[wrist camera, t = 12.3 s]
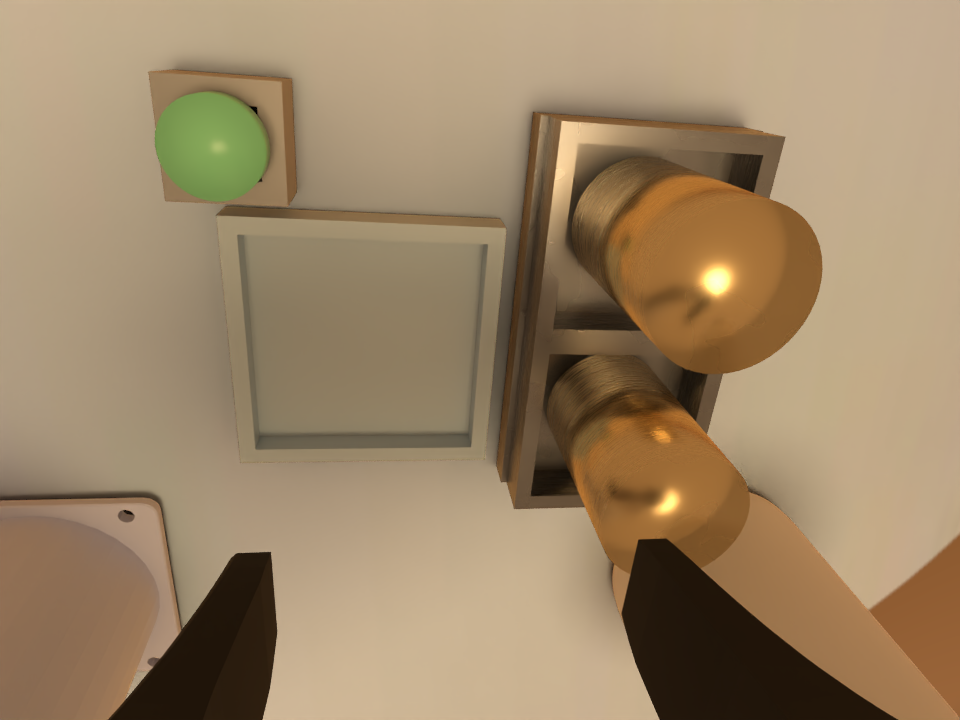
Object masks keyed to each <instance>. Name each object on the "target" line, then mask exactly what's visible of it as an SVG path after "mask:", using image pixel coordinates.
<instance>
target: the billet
mask: <svg viewBox="0 0 960 720" xmlns="http://www.w3.org/2000/svg"><path fill="white" fill-rule="evenodd" d="M572 241H573V246H574V250H575V253H576V255H577V258H578V260H579V262H580V263H581V265H582V266H583V268H584V269H585V270H586V271H587V272H588V274H589V275H590V276H591V277H592V278H593V279H594V280H595V281H596V282H597V283H598V284H599V285H600V286H601V287H602V289H603V290H604V291H605V292H606V293H607V294H608V295H609V296H610V297H611V298H612V299H613V300H614V301H615V302H616V304H617V305H618V306H619V307H620V308H621V309H622V310H623V311H624V312H625V313H626V314H627V315H628V316H629V318H630V319H631V320H632V321H633V322H634V323H635V324H636V325H637V326H638V327H639V328H640V329H641V330H642V331H643V333H644V334H645V335H646V336H647V337H648V338H649V339H650V340H651V341H652V342H653V343H654V344H655V345H656V346H657V348H658V349H659V350H660V351H661V352H662V353H663V354H664V355H665V356H666V357H667V358H668V359H670V360H671V361H672V362H674V363H675V364H677V365H679V366H681V367H683V368H685V369H687V370H691V371H694V372H698V373H704V374H723V373H730V372H735V371H739V370H742V369H745V368H748V367H751V366H753V365H755V364H757V363H759V362H761V361H763V360H765V359H766V358H768V357H770V356H771V355H773V354H774V353H775V352H777V351H778V350H779V349H781V348H782V347H783V346H784V345H785V344H786V343H787V342H788V341H789V340H790V339H791V338H792V337H793V336H794V335H795V334H796V333H797V331H798V330H799V329H800V327H801V326H802V325H803V323H804V322H805V320H806V319H807V317H808V315H809V314H810V312H811V310H812V308H813V305H814V303H815V301H816V298H817V295H818V292H819V288H820V284H821V278H822V256H821V250H820V246H819V243H818V240H817V237H816V235H815V233H814V232H813V230H812V228H811V227H810V225H809V224H808V223H807V221H806V220H805V219H804V218H803V217H802V216H801V215H799V214H798V213H797V212H796V211H794V210H793V209H791V208H790V207H788V206H786V205H783V204H781V203H778V202H776V201H773V200H771V199H768V198H765V197H763V196H760V195H757V194H755V193H752V192H749V191H747V190H744V189H741V188H739V187H736V186H733V185H731V184H728V183H725V182H723V181H720V180H718V179H715V178H712V177H710V176H707V175H704V174H702V173H699V172H696V171H694V170H691V169H688V168H686V167H683V166H680V165H678V164H675V163H672V162H670V161H667V160H664V159H661V158H657V157H649V156H641V157H633V158H628V159H625V160H622V161H620V162H618V163H615V164H613V165H611V166H610V167H608V168H607V169H605V170H604V171H603V172H601V173H600V174H599V175H598V176H597V177H596V178H595V179H594V180H593V181H592V182H591V183H590V184H589V185H588V187H587V188H586V189H585V191H584V192H583V194H582V196H581V198H580V200H579V202H578V204H577V207H576V209H575V213H574V216H573V223H572Z"/></svg>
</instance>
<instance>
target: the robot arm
mask: <svg viewBox="0 0 960 720" xmlns="http://www.w3.org/2000/svg"><path fill="white" fill-rule="evenodd" d="M123 510H129V511H131V512H132V513H133V514H134V515H128V514H126V513H124V512H123ZM621 615H622V618H623V622H624V625H625V629H626V633H627V636H628V640H629V643H630V646H631V650H632V653H633V656H634V659H635V662H636V665H637V668H638V670H639V672H640V675H641V677H642V680H643V682H644V684H645V687H646V689H647V691H648V694H649V696H650V698H651V701H652V703H653V705H654V708H655V710H656V712H657V714H658V717H659V719H660V720H898V719H896V718H895V717H893V716H891V715H890V714H888V713H886V712H885V711H883V710H881V709H880V708H878V707H877V706H875V705H874V704H872V703H871V702H869V701H867V700H866V699H864V698H863V697H861V696H860V695H858V694H857V693H855V692H854V691H852V690H851V689H849V688H848V687H847V686H845V685H844V684H842V683H841V682H839V681H838V680H837V679H835V678H834V677H832V676H831V675H829V674H828V673H827V672H825V671H824V670H822V669H821V668H819V667H818V666H817V665H815V664H814V663H813V662H811V661H810V660H809V659H807V658H806V657H805V656H803V655H802V654H801V653H799V652H798V651H797V650H796V649H794V648H793V647H792V646H791V645H789V644H788V643H787V642H785V641H784V640H783V639H782V638H780V637H779V636H778V635H777V634H775V633H774V632H773V631H772V630H770V629H769V628H768V627H767V626H766V625H764V624H763V623H762V622H761V621H760V620H758V619H757V618H756V617H755V616H754V615H752V614H751V613H750V612H749V611H748V610H747V609H745V608H744V607H743V606H742V605H741V604H740V603H739V602H737V601H736V600H735V599H734V598H733V597H732V596H731V595H729V594H728V593H727V592H726V591H725V590H724V589H723V588H722V587H720V586H719V585H718V584H717V583H716V582H715V581H714V580H713V579H712V578H710V577H709V576H708V575H707V574H706V573H705V572H704V571H703V570H702V569H701V568H699V567H698V566H697V565H696V564H695V563H694V562H693V561H692V560H691V559H690V558H688V557H687V556H686V555H685V554H684V553H683V552H682V551H681V550H680V549H678V548H677V547H676V546H675V545H674V544H673V543H672V542H670V541H669V540H668V539H667V538H663V539H638V543H637V548H636V552H635V556H634V561H633V565H632V569H631V574H630V578H629V582H628V587H627V591H626V595H625V600H624V604H623V608H622V613H621ZM276 638H277V623H276V610H275V598H274V585H273V572H272V560H271V552H259V553H237V554H235V555H234V556H233V557H232V558H231V559H230V561H229V562H228V564H227V566H226V567H225V569H224V570H223V572H222V573H221V575H220V577H219V578H218V580H217V581H216V583H215V584H214V586H213V587H212V589H211V590H210V592H209V593H208V595H207V596H206V598H205V599H204V600H203V602H202V603H201V605H200V606H199V608H198V609H197V610H196V612H195V613H194V615H193V616H192V617H191V619H190V620H189V621H188V623H187V624H186V625H185V627H184V628H183V629H182V631H181V627H180V621H179V615H178V609H177V603H176V597H175V591H174V585H173V579H172V573H171V567H170V561H169V555H168V549H167V543H166V537H165V531H164V525H163V519H162V513H161V508H160V506H159V504H158V503H157V502H156V501H154V500H152V499H150V498H96V499H49V500H2V501H0V720H262V719H263V715H264V711H265V707H266V703H267V698H268V694H269V690H270V684H271V677H272V669H273V662H274V654H275V646H276ZM155 657H157V658H155ZM136 671H149V672H148V674H147V675H146V676H145V677H144V679H143V680H142V681H141V682H140V683H139V685H138V686H137V687H136V688H135V689H134V691H133V692H132V693H131V694H130V695H129V696H128V698H127V699H126V700H125V698H126V696H127V693H128V691H129V688H130V686H131V683H132V681H133V678H134V676H135V673H136Z"/></svg>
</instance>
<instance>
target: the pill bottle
mask: <svg viewBox="0 0 960 720" xmlns="http://www.w3.org/2000/svg"><path fill="white" fill-rule="evenodd" d="M749 494H750V508H749V514H748V518H747V520H746V523H745V525H744V527H743V529H742V531H741V533H740V535H739V536H738V537H737V539H736V540H735V542H734V543H733V544H732V545H731V546H730V547H729V548H728V549H727V550H726V551H725V552H724V553H723V554H722V555H721V556H719V557H718V558H717V559H715V560H714V561H712V562H711V563H709V564H708V565H706V566H704V567H702V568H701V569H702V570H703V571H704V572H705V573H706V574H707V575H708V576H709V577H710V578H712V579H713V580H714V581H715V582H716V583H717V584H718V585H719V586H720V587H722V588H723V589H724V590H725V591H726V592H727V593H728V594H729V595H731V596H732V597H733V598H734V599H735V600H736V601H737V602H739V603H740V604H741V605H742V606H743V607H744V608H745V609H747V610H748V611H749V612H750V613H751V614H752V615H754V616H755V617H756V618H757V619H758V620H760V621H761V622H762V623H763V624H764V625H766V626H767V627H768V628H769V629H770V630H772V631H773V632H774V633H775V634H777V635H778V636H779V637H780V638H782V639H783V640H784V641H785V642H787V643H788V644H789V645H791V646H792V647H793V648H794V649H796V650H797V651H798V652H799V653H801V654H802V655H803V656H805V657H806V658H807V659H809V660H810V661H811V662H813V663H814V664H815V665H817V666H818V667H819V668H821V669H822V670H824V671H825V672H827V673H828V674H829V675H831V676H832V677H834V678H835V679H837V680H838V681H839V682H841V683H842V684H844V685H845V686H847V687H848V688H849V689H851V690H852V691H854V692H855V693H857V694H858V695H860V696H861V697H863V698H864V699H866V700H867V701H869V702H871V703H872V704H874V705H875V706H877V707H878V708H880V709H881V710H883V711H885V712H886V713H888V714H890V715H891V716H893V717H895V718H896V719H898V720H960V717H959V716H958V715H957V714H956V713H955V712H954V710H953V709H952V708H951V707H950V706H949V705H948V703H947V702H946V701H945V700H944V699H943V697H942V696H941V695H940V694H939V693H938V692H937V691H936V689H935V688H934V687H933V686H932V685H931V683H930V682H929V681H928V680H927V679H926V678H925V676H924V675H923V674H922V673H921V672H920V670H919V669H918V668H917V667H916V666H915V665H914V664H913V662H912V661H911V660H910V659H909V658H908V656H907V655H906V654H905V653H904V652H903V651H902V649H901V648H900V647H899V646H898V645H897V644H896V642H895V641H894V640H893V639H892V638H891V637H890V635H889V634H888V633H887V632H886V631H885V629H884V628H883V627H882V626H881V625H880V624H879V622H878V621H877V620H876V619H875V618H874V617H873V615H872V614H871V613H870V612H869V611H868V610H867V608H866V607H865V606H864V605H863V604H862V603H861V601H860V600H859V599H858V598H857V597H856V595H855V594H854V593H853V592H852V591H851V590H850V588H849V587H848V586H847V585H846V584H845V583H844V581H843V580H842V579H841V578H840V577H839V576H838V574H837V573H836V572H835V571H834V570H833V569H832V567H831V566H830V565H829V564H828V563H827V562H826V560H825V559H824V558H823V557H822V556H821V554H820V553H819V552H818V551H817V550H816V549H815V547H814V546H813V545H812V544H811V543H810V542H809V540H808V539H807V538H806V537H805V536H804V535H803V533H802V532H801V531H800V530H799V529H798V528H797V526H796V525H795V524H794V523H793V522H792V521H791V519H790V518H789V517H788V516H786V515H785V514H784V513H783V512H782V511H781V510H780V509H779V508H778V507H776V506H775V505H774V504H773V503H771V502H770V501H768V500H766V499H765V498H763V497H761V496H758V495H756V494H753V493H750V492H749ZM629 578H630V574H629V573H627V572H625V571H623V570H621V569H620V568H618V567H617V566H616V565H615V564H614V568H613V575H612V585H613V592H614V597H615V600H616V604H617V608H618V611H619V613H620V616H621V618H622V615H621V613H622V608H623V604H624V600H625V595H626V591H627V587H628V582H629ZM622 621H623V618H622ZM623 623H624V622H623ZM624 626H625V625H624Z"/></svg>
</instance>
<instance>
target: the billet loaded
mask: <svg viewBox="0 0 960 720" xmlns="http://www.w3.org/2000/svg"><path fill="white" fill-rule="evenodd" d="M547 420H548V424H549V427H550V429H551V432H552V434H553V436H554V438H555V441H556V443H557V445H558V447H559V450H560V452H561V454H562V456H563V459H564V461H565V463H566V465H567V468H568V470H569V472H570V474H571V477H572V479H573V481H574V483H575V486H576V488H577V490H578V492H579V494H580V497H581V499H582V501H583V503H584V506H585V508H586V510H587V512H588V515H589V517H590V519H591V521H592V524H593V526H594V528H595V530H596V533H597V535H598V537H599V539H600V541H601V544H602V546H603V548H604V550H605V553H606V554H607V556H608V557H609V559H610V560H611V561H612V562H613V563H614V564H615V565H616V566H617V567H618V568H620V569H621V570H623V571H625V572H627V573H629V574H631V569H632V565H633V561H634V556H635V552H636V548H637V543H638V539H663V538H667V539H668V540H669V541H670V542H672V543H673V544H674V545H675V546H676V547H677V548H678V549H680V550H681V551H682V552H683V553H684V554H685V555H686V556H687V557H688V558H690V559H691V560H692V561H693V562H694V563H695V564H696V565H697V566H698V567H699V568H702V567H704V566H706V565H708V564H709V563H711V562H712V561H714V560H715V559H717V558H718V557H719V556H721V555H722V554H723V553H724V552H725V551H726V550H727V549H728V548H729V547H730V546H731V545H732V544H733V543H734V542H735V540H736V539H737V537H738V536H739V535H740V533H741V531H742V529H743V527H744V525H745V523H746V520H747V518H748V514H749V508H750V494H749V490H748V487H747V484H746V482H745V480H744V479H743V477H742V476H741V474H740V473H739V472H738V471H737V469H736V468H735V467H734V466H733V465H732V464H731V462H730V461H729V460H728V459H727V458H726V457H725V455H724V454H723V453H722V452H721V451H720V449H719V448H718V447H717V446H716V445H715V444H714V442H713V441H712V440H711V439H710V438H709V437H708V435H707V434H706V433H705V432H704V431H703V429H702V428H701V427H700V426H699V425H698V424H697V422H696V421H695V420H694V419H693V418H692V417H691V415H690V414H689V413H688V412H687V411H686V409H685V408H684V407H683V406H682V405H681V404H680V402H679V401H678V400H677V399H676V398H675V397H674V395H673V394H672V393H671V392H670V391H669V390H668V388H667V387H666V386H665V385H664V384H663V382H662V381H661V380H660V379H659V378H658V377H657V375H656V374H655V373H654V372H653V371H652V370H651V368H650V367H649V366H648V365H647V364H645V363H644V362H643V361H641V360H640V359H638V358H636V357H634V356H631V355H594V356H590V357H588V358H586V359H583V360H581V361H580V362H578V363H576V364H575V365H573V366H572V367H570V368H569V369H568V370H567V371H566V372H565V373H564V374H563V375H562V376H561V377H560V378H559V379H558V381H557V382H556V384H555V385H554V387H553V389H552V391H551V393H550V396H549V399H548V404H547Z"/></svg>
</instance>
